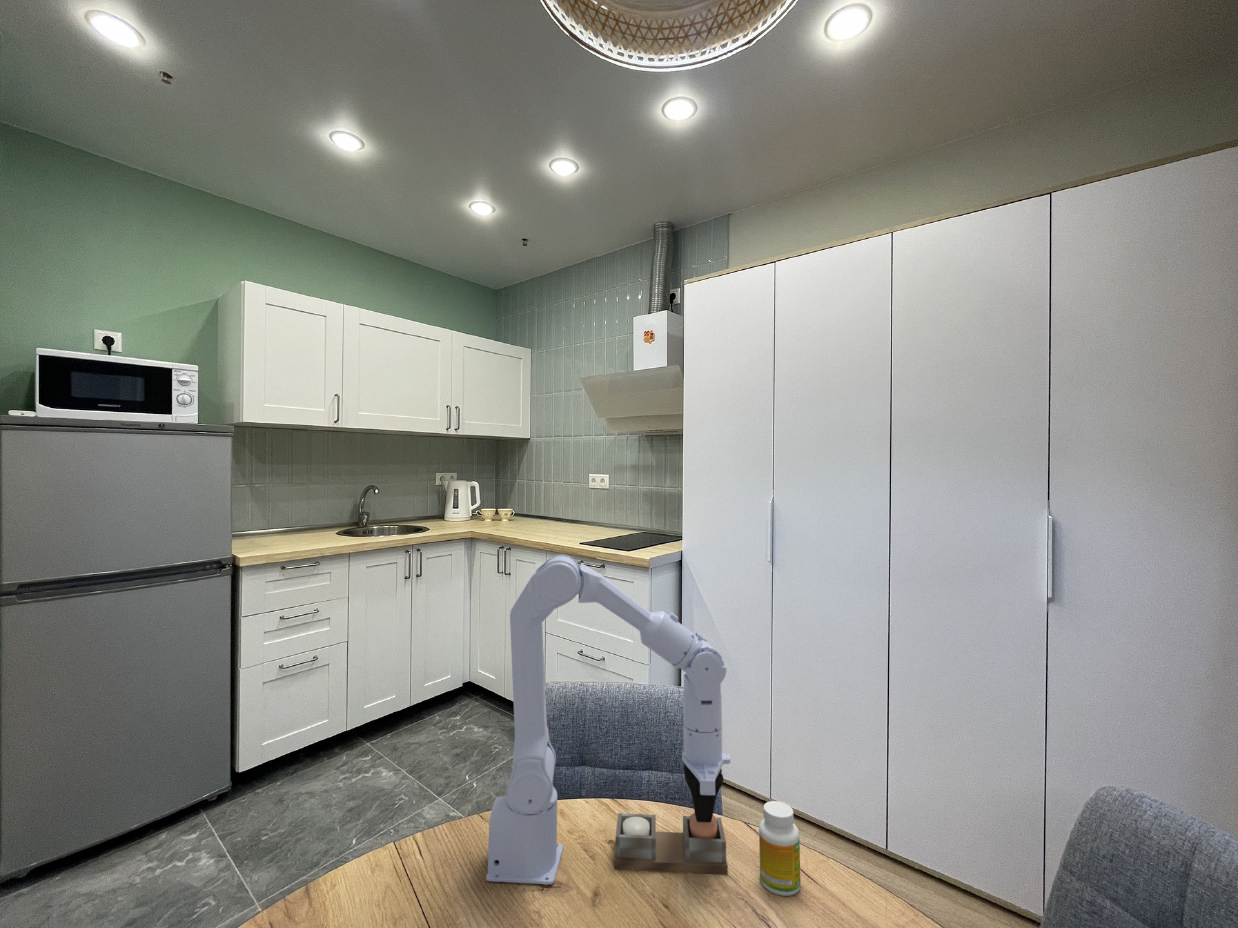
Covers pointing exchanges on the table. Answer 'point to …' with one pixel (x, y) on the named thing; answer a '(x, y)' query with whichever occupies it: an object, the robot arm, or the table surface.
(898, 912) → the table surface
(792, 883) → the supplement bottle
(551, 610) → the robot arm
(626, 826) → the white plunger
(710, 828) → the tan rounded dome
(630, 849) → the panel
